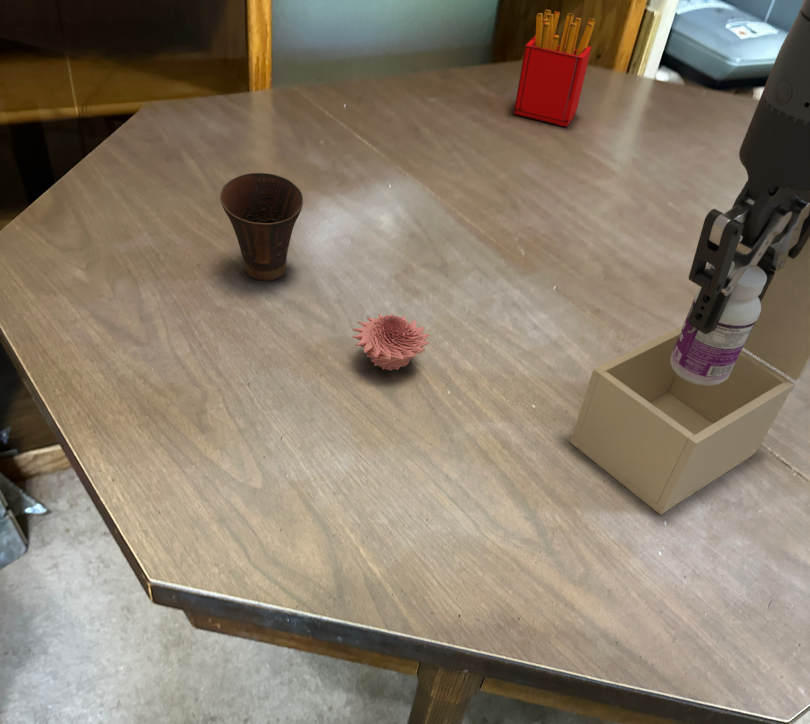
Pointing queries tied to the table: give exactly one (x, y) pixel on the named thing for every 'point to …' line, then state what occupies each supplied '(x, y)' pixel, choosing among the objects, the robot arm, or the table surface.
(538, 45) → the french fries container
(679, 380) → the tan wooden box
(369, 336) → the flower
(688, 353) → the pill bottle
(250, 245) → the cup
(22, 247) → the table surface
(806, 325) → the box lid
